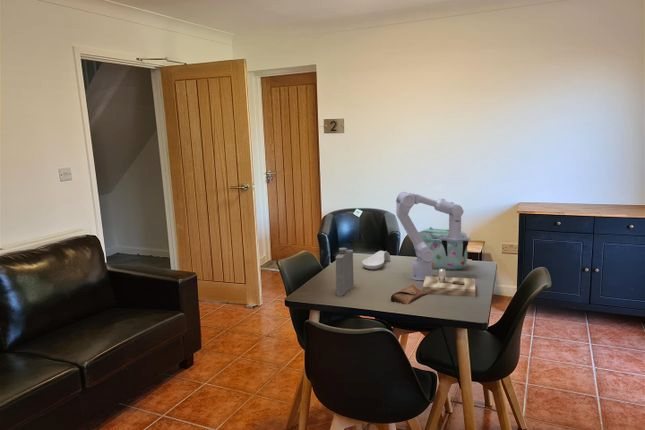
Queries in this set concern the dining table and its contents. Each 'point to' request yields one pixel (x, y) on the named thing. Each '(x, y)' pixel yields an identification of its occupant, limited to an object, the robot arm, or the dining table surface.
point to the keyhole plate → (449, 286)
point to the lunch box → (453, 249)
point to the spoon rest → (376, 260)
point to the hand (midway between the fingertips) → (454, 255)
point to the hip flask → (344, 271)
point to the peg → (441, 275)
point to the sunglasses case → (407, 295)
